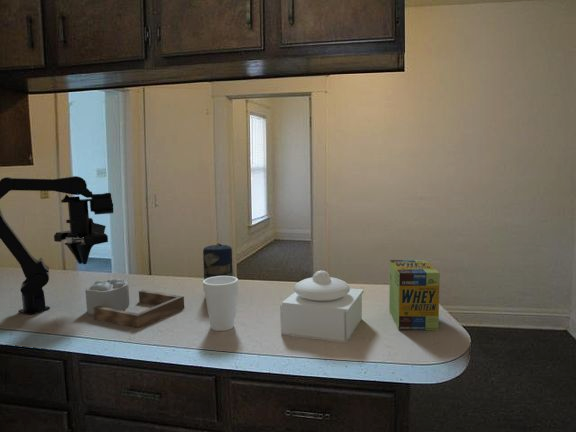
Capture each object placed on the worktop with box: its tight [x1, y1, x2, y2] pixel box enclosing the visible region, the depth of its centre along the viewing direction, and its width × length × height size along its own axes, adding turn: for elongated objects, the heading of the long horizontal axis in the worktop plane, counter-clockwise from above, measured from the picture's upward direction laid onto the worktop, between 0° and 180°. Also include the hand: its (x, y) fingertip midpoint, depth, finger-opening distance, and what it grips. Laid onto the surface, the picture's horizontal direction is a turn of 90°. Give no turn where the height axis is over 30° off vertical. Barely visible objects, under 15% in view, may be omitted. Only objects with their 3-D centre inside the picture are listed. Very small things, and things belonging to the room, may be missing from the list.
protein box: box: [388, 259, 441, 331], centre depth 124 cm, size 10×15×16 cm
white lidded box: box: [279, 270, 365, 344], centre depth 121 cm, size 18×18×16 cm
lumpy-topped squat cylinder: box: [84, 277, 130, 315], centre depth 141 cm, size 10×13×9 cm
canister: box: [202, 243, 234, 280], centre depth 149 cm, size 10×10×18 cm
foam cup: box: [202, 275, 239, 332], centre depth 123 cm, size 10×9×13 cm
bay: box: [93, 289, 185, 329], centre depth 136 cm, size 18×19×4 cm
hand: (82, 263), depth 145 cm, fingers closed
